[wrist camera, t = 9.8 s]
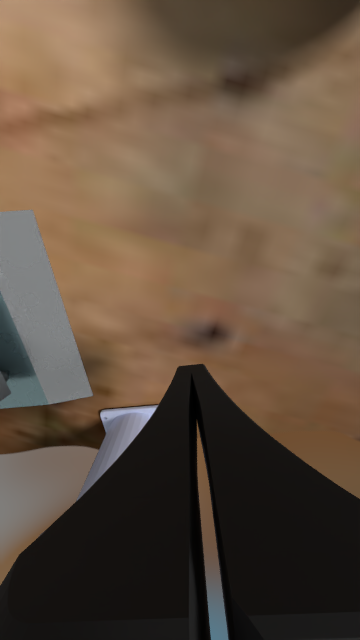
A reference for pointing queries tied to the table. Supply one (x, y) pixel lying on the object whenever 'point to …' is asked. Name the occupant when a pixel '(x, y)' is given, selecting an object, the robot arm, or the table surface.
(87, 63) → the table surface
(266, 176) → the table surface
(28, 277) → the dock bay
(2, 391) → the cabinet door with handle
